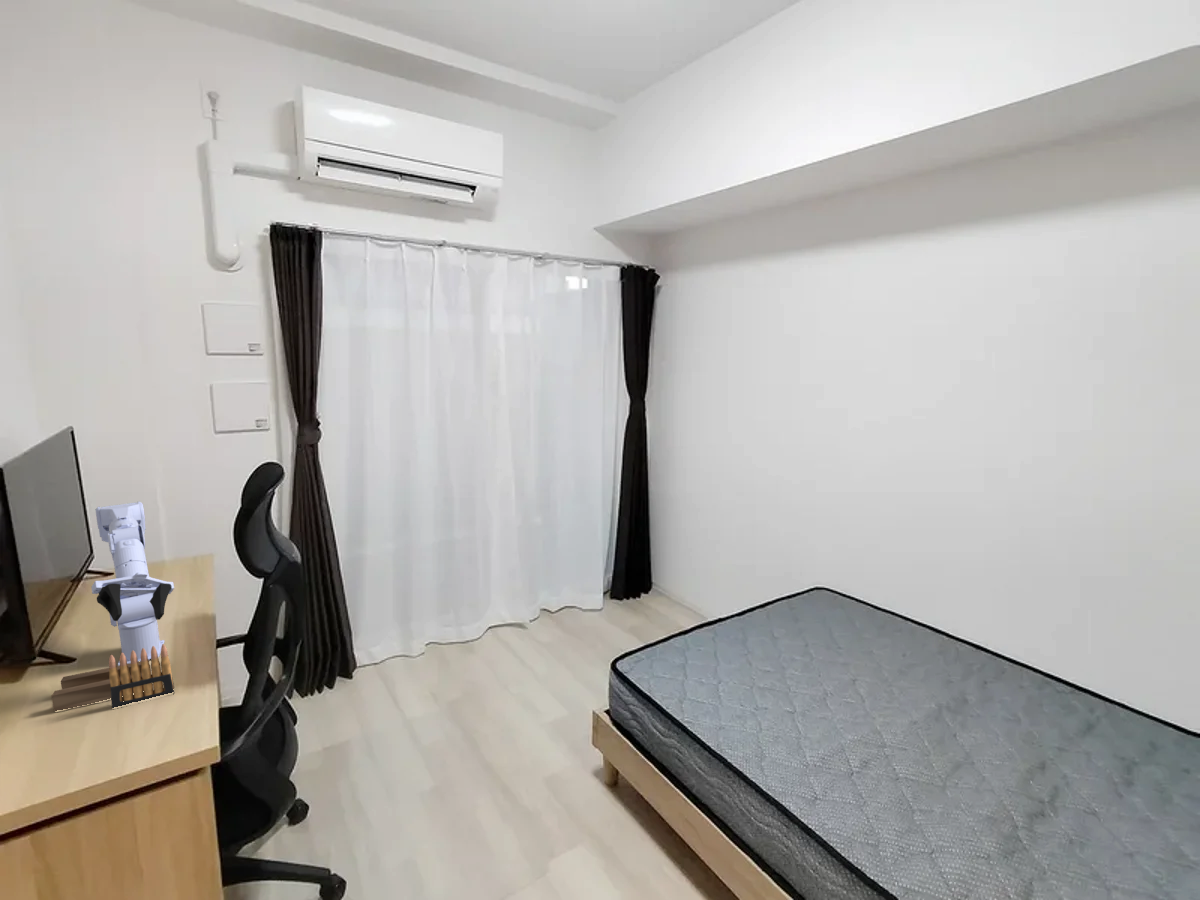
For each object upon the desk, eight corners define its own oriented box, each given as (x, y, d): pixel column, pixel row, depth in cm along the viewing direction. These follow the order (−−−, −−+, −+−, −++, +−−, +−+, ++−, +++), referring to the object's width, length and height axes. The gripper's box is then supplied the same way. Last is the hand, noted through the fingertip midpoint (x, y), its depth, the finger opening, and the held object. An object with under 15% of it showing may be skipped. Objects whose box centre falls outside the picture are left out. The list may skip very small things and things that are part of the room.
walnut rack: (66, 693, 127) (63, 676, 126) (150, 675, 134) (148, 659, 134) (54, 713, 120) (51, 695, 119) (144, 693, 127) (141, 676, 127)
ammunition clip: (174, 690, 129) (168, 641, 127) (174, 694, 127) (167, 644, 125) (113, 705, 123) (106, 654, 121) (112, 709, 121) (104, 658, 119)
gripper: (99, 555, 123) (106, 605, 116) (176, 559, 135) (186, 604, 128) (85, 577, 125) (90, 628, 118) (162, 579, 137) (171, 625, 129)
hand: (139, 617), depth 123 cm, fingers open, 7 cm apart
